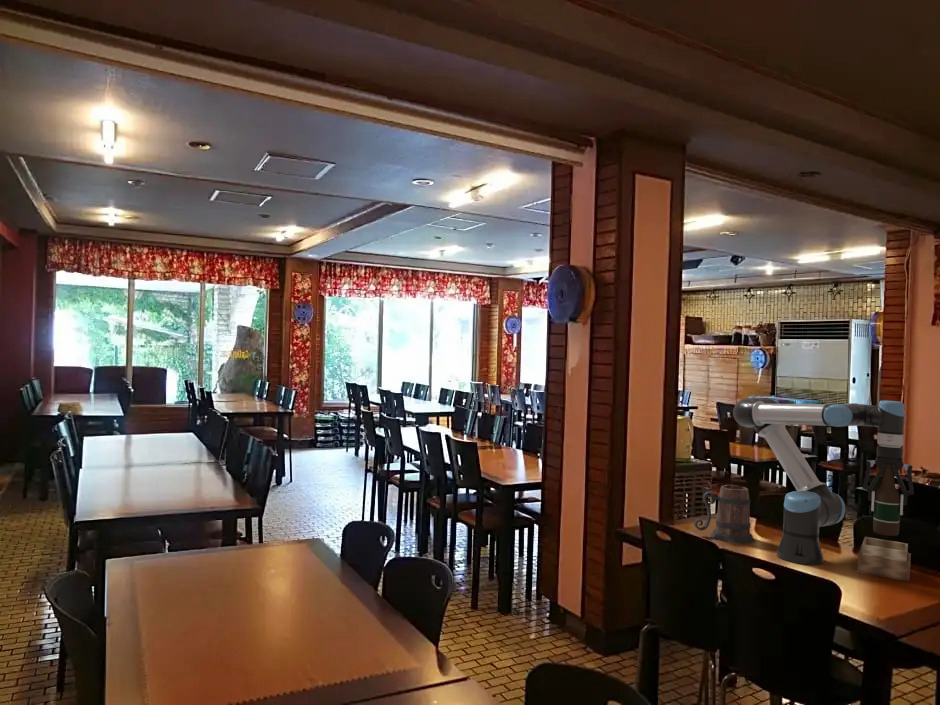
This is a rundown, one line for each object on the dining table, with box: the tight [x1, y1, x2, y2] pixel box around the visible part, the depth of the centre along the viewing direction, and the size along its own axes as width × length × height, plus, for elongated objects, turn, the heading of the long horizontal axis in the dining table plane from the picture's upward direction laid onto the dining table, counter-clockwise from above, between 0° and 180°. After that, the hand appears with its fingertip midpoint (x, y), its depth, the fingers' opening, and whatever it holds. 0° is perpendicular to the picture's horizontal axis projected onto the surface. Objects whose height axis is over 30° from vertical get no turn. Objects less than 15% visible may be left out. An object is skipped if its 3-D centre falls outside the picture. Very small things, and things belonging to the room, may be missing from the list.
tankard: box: [693, 484, 756, 544], centre depth 276 cm, size 24×17×20 cm
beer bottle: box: [872, 464, 901, 537], centre depth 239 cm, size 8×8×24 cm
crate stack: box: [856, 536, 912, 583], centre depth 239 cm, size 15×15×9 cm
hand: (886, 512), depth 239 cm, fingers closed on beer bottle, 8 cm apart
